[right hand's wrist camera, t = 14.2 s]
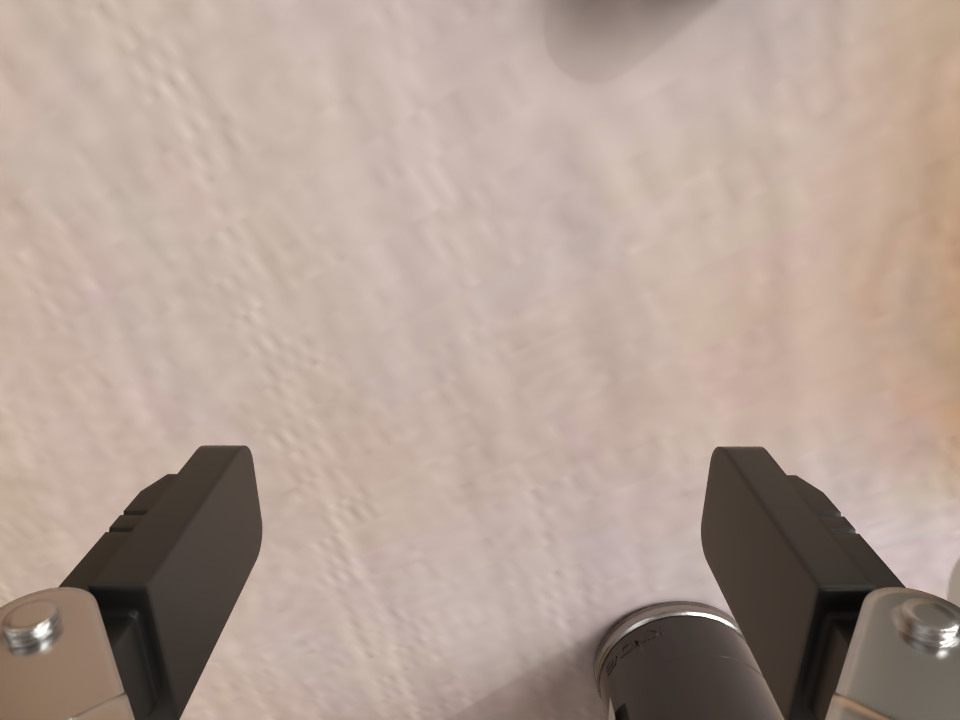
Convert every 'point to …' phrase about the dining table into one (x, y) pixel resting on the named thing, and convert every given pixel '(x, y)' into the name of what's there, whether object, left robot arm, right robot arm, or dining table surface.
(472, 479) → the dining table surface
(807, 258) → the dining table surface
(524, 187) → the dining table surface
